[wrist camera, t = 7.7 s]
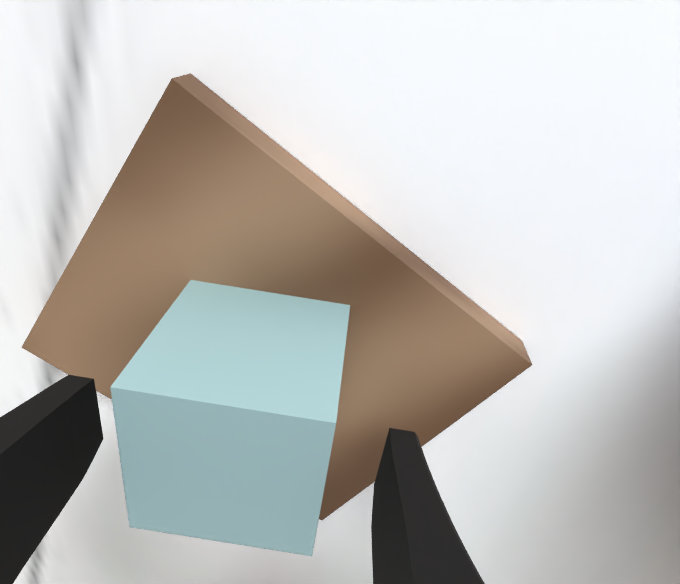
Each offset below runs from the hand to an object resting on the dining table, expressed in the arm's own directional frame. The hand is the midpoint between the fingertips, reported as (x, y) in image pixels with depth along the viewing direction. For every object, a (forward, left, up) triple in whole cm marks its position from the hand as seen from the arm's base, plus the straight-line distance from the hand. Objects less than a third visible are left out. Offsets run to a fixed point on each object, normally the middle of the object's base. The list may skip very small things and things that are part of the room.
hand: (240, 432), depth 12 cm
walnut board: (0, 0, -4) cm, 4 cm away
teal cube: (0, 0, -3) cm, 3 cm away
